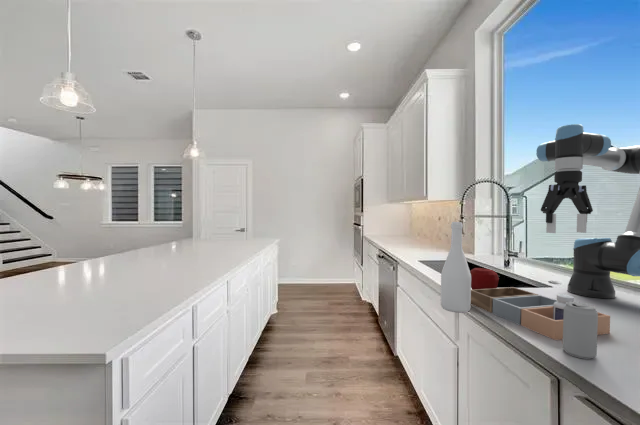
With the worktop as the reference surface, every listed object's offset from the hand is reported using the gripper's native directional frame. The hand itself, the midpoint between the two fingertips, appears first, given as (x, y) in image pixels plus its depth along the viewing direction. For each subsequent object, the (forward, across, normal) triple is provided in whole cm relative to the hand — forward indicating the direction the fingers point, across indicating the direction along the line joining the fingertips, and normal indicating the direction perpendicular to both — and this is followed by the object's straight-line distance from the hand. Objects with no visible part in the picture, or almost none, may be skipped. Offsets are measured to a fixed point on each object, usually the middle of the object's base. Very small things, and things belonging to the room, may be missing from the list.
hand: (566, 232), depth 110 cm
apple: (+27, +15, -21) cm, 37 cm away
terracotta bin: (+27, +18, +14) cm, 35 cm away
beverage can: (+27, +30, +27) cm, 49 cm away
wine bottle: (+27, +37, -9) cm, 47 cm away
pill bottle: (+27, +18, +14) cm, 35 cm away
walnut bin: (+27, +18, -8) cm, 33 cm away
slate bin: (+27, +18, +3) cm, 32 cm away
